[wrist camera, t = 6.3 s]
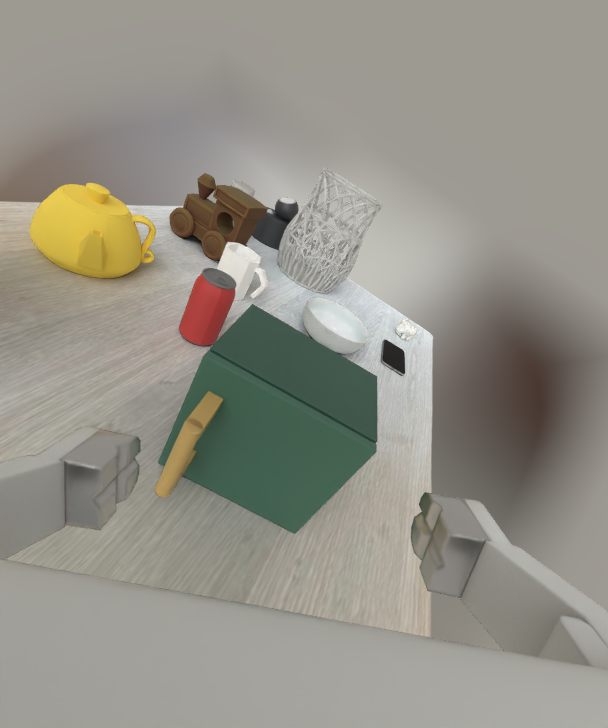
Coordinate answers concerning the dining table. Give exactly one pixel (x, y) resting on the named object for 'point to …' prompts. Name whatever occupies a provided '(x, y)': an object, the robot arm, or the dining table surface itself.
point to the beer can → (207, 307)
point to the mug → (242, 268)
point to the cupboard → (302, 369)
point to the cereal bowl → (334, 326)
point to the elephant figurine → (406, 330)
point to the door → (258, 446)
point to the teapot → (90, 232)
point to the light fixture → (275, 222)
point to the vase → (299, 267)
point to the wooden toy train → (217, 216)
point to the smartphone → (393, 357)
